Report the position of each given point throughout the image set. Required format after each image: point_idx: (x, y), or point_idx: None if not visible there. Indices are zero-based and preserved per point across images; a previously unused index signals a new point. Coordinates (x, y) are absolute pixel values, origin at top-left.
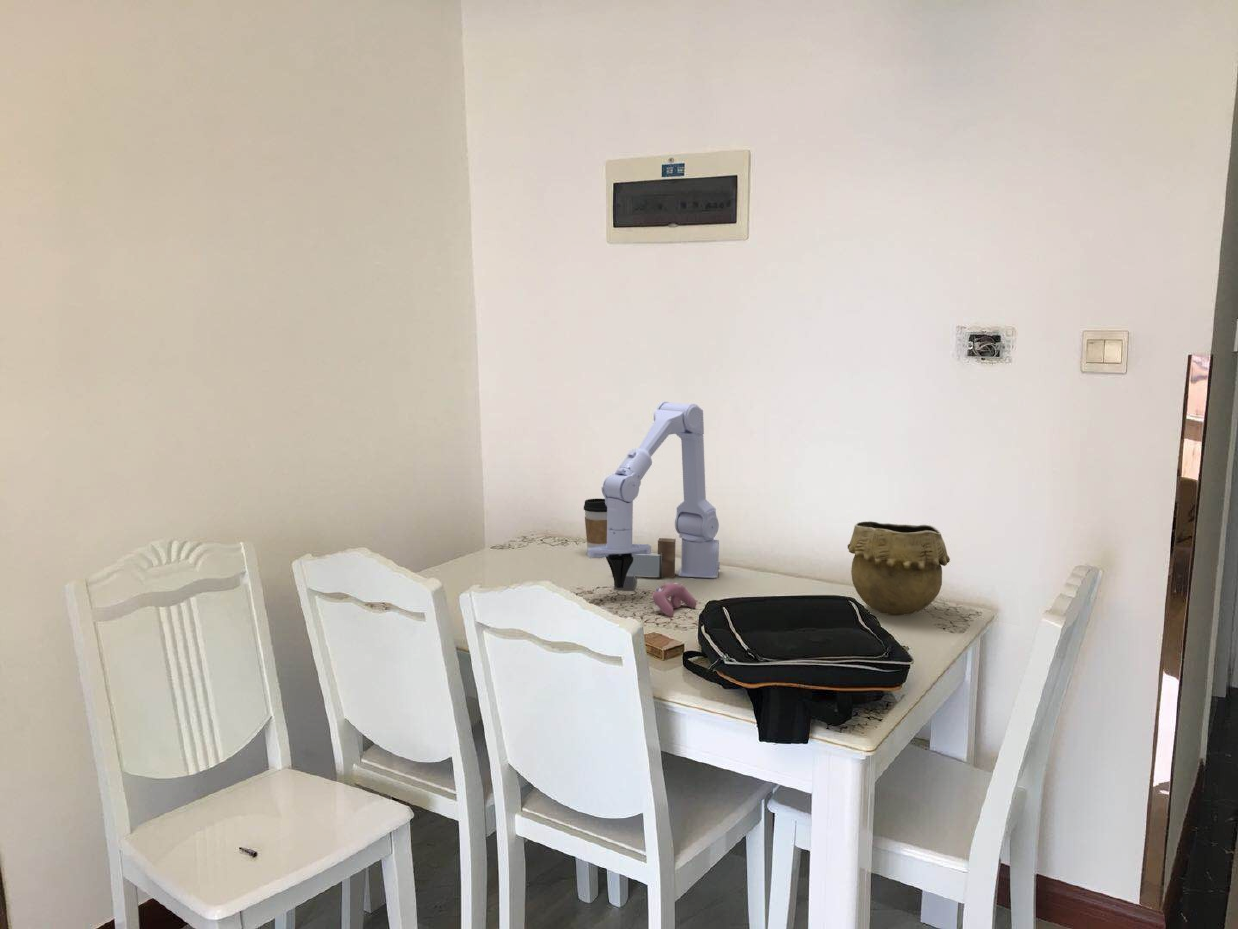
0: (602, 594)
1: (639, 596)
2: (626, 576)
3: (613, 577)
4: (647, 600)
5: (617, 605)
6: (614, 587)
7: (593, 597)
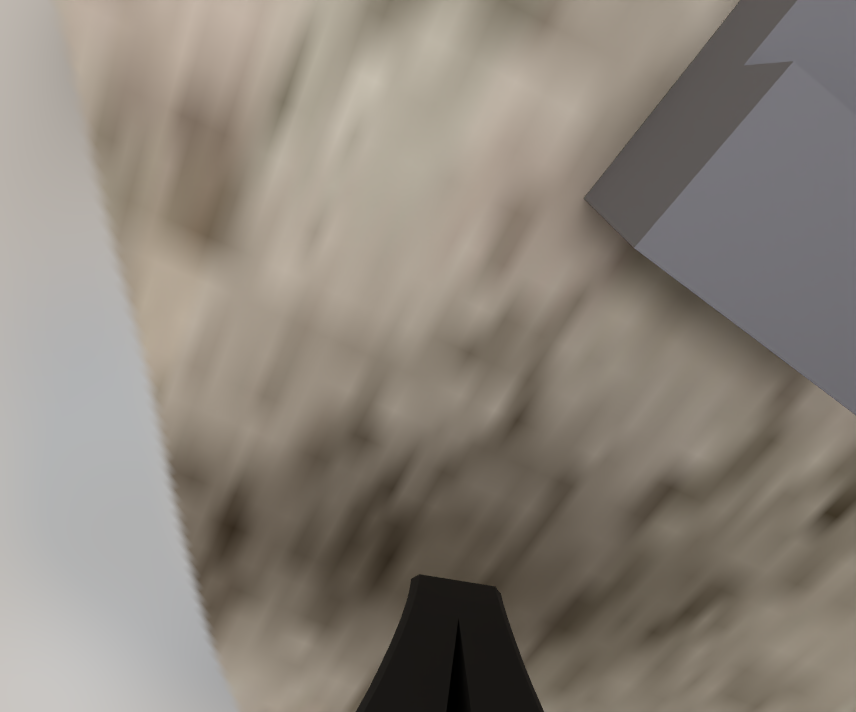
0: (327, 343)
1: (687, 581)
2: (824, 389)
3: (382, 667)
4: (669, 706)
5: (322, 704)
6: (595, 205)
7: (179, 406)
